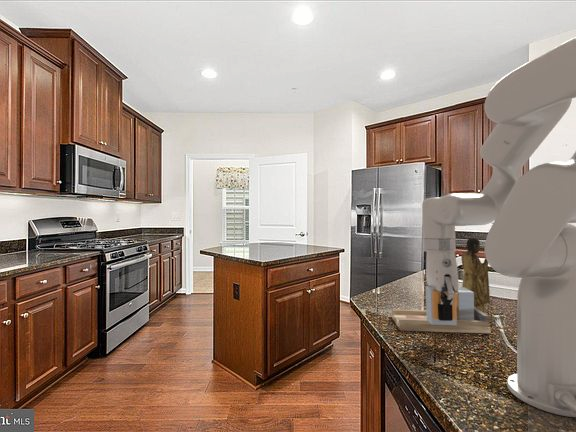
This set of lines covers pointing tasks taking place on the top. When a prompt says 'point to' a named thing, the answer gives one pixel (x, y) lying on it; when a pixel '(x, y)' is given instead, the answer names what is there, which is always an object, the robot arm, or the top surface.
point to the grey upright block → (432, 307)
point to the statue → (476, 274)
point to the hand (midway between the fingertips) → (441, 316)
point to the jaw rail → (466, 323)
